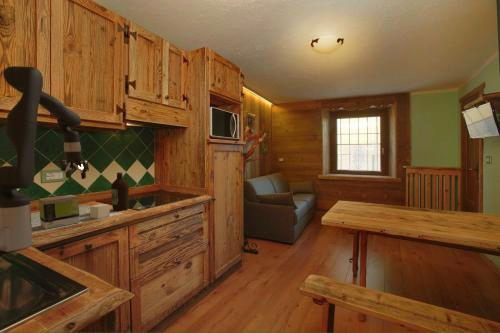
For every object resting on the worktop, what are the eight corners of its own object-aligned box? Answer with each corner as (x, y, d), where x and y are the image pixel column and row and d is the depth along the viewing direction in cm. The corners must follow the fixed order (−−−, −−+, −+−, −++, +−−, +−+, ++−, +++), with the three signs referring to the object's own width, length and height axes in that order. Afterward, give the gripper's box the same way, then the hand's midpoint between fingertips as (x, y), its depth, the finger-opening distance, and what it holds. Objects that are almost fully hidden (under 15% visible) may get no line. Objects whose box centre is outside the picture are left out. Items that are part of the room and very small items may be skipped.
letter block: (98, 219, 139) (98, 207, 139) (90, 217, 142) (89, 206, 141) (109, 216, 145) (109, 204, 145) (101, 215, 148) (101, 203, 148)
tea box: (74, 219, 138) (73, 194, 137) (80, 223, 132) (78, 196, 131) (40, 225, 127) (38, 198, 126) (44, 229, 120) (42, 200, 119)
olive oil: (123, 207, 169) (122, 171, 168) (132, 209, 164) (131, 172, 162) (108, 210, 160) (107, 172, 159) (117, 212, 155) (116, 173, 153)
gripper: (54, 150, 131) (58, 179, 134) (80, 151, 130) (83, 180, 133) (66, 149, 138) (69, 176, 141) (90, 149, 137) (93, 177, 140)
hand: (76, 178), depth 137 cm, fingers open, 8 cm apart
